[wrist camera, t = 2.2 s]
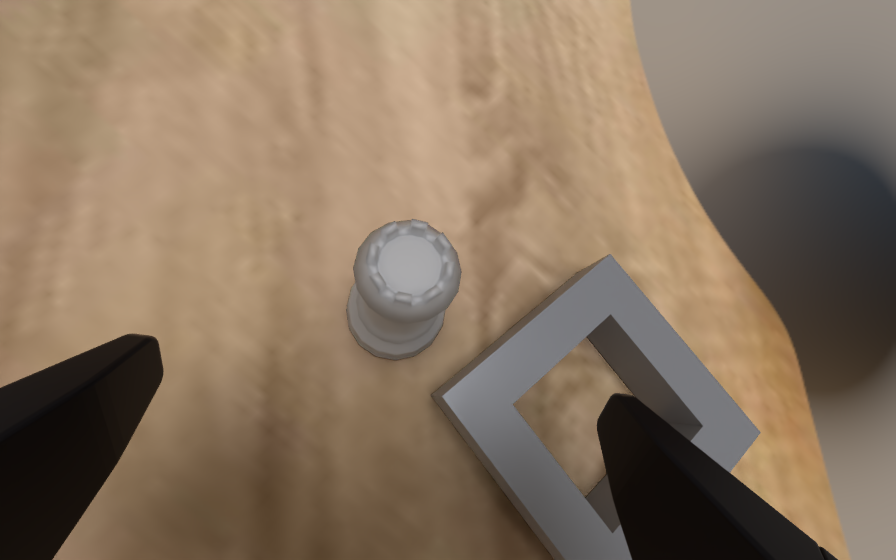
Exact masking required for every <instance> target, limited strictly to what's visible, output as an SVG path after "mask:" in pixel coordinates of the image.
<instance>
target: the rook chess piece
mask: <svg viewBox="0 0 896 560" xmlns="http://www.w3.org/2000/svg"><path fill="white" fill-rule="evenodd" d="M353 270H354V276H355V284H354V285H353V286H352V287H351V291H350V295H349V299H348V303H347V309H346V312H347V318H348V324H349V329H350V331H351V332H352V334H353V336H354V337H355V339H356V340H357V342H358V343H359V345H360V346H362V347H363V348H364V349H366V350H367V351H369V352H370V353H372V354H373V355H375V356H377V357H382V358H387V359H392V360H398V359H403V358H408V357H413V356H415V355H417V354H418V353H420V352H421V351H423V350H424V349H426V348H427V347H429V346H430V345H431V344H432V342H433V341H434V339H435V337H436V336H437V334H438V333H439V331H440V330H441V328H442V326H443V320H444V315H445V310H446V309H447V308H448V306H449V305H450V303H451V302H452V300H453V299H454V297H455V296H456V294H457V293H458V289H459V284H460V278H461V268H460V263H459V259H458V255H457V252H456V250H455V249H454V248H453V246H452V245H451V243H450V242H449V240H448V239H447V238H446V236H445V235H444V234H443V232H442V233H440V232H439V231H437V230H436V229H434V228H433V227H431V226H430V225H428V223H427V222H423V221H419V220H415V219H412V221H410V220H407V221H399V222H395V221H394V222H391V223H387V224H386V225H384V226H382V227H380V228H378V229H377V230H375V231H373V232H371V233H370V234H369V236H368V237H367V238H366V239H365V241H364V242H363V243H362V245H361V246H360V247H359V248H358V252H357V256H356V259H355V263H354V267H353Z"/></svg>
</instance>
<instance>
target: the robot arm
mask: <svg viewBox="0 0 896 560" xmlns="http://www.w3.org/2000/svg"><path fill="white" fill-rule="evenodd" d="M162 378H163V364H162V359H161V353H160V348H159V343H158V340H157V339H156V338H155V337H153V336H149V335H140V334H127V335H124V336H121V337H119V338H117V339H114V340H112V341H110V342H107V343H105V344H103V345H100V346H98V347H96V348H93V349H91V350H88V351H86V352H84V353H81V354H79V355H77V356H74V357H72V358H70V359H67V360H65V361H63V362H60V363H58V364H55V365H53V366H51V367H48V368H46V369H44V370H41V371H39V372H37V373H34V374H32V375H29V376H27V377H25V378H22V379H20V380H18V381H15V382H13V383H11V384H8V385H6V386H4V387H1V388H0V560H52V559H53V558H54V556H55V555H56V553H57V552H58V550H59V549H60V547H61V546H62V545H63V543H64V542H65V540H66V539H67V537H68V536H69V534H70V533H71V531H72V530H73V528H74V527H75V525H76V524H77V522H78V521H79V519H80V518H81V516H82V515H83V513H84V512H85V511H86V509H87V508H88V506H89V505H90V503H91V502H92V500H93V499H94V497H95V496H96V494H97V493H98V491H99V490H100V488H101V487H102V485H103V484H104V482H105V481H106V479H107V478H108V477H109V475H110V473H111V472H112V470H113V469H114V467H115V466H116V464H117V463H118V461H119V459H120V457H121V456H122V454H123V452H124V450H125V449H126V447H127V445H128V443H129V441H130V439H131V438H132V436H133V434H134V432H135V430H136V428H137V426H138V424H139V423H140V421H141V419H142V417H143V415H144V413H145V411H146V410H147V408H148V406H149V404H150V402H151V400H152V398H153V396H154V395H155V393H156V391H157V389H158V387H159V385H160V383H161V381H162ZM597 432H598V436H599V441H600V445H601V450H602V454H603V459H604V463H605V468H606V472H607V477H608V481H609V486H610V490H611V494H612V498H613V502H614V505H615V508H616V512H617V515H618V518H619V521H620V524H621V527H622V530H623V534H624V537H625V540H626V543H627V546H628V549H629V552H630V555H631V558H632V560H838V559H836V558H835V557H834V556H833V555H831V554H830V553H829V552H828V551H826V550H825V549H824V548H823V547H819V546H818V544H817V543H816V542H815V541H814V540H813V539H811V538H810V537H809V536H808V535H806V534H805V533H804V532H803V531H801V530H800V529H799V528H798V527H796V526H795V525H794V524H793V523H792V522H790V521H789V520H788V519H787V518H785V517H784V516H783V515H782V514H780V513H779V512H778V511H777V510H775V509H774V508H773V507H772V506H770V505H769V504H768V503H767V502H765V501H764V500H763V499H762V498H760V497H759V496H758V495H757V494H755V493H754V492H753V491H752V490H750V489H749V488H748V487H747V486H746V485H744V484H743V483H742V482H741V481H739V480H738V479H737V478H736V477H734V476H733V475H732V474H731V473H729V472H728V471H727V470H726V469H724V468H723V467H722V466H721V465H719V464H718V463H717V462H716V461H714V460H713V459H712V458H711V457H709V456H708V455H707V454H706V453H704V452H703V451H702V450H701V449H700V448H698V447H697V446H696V445H695V444H693V443H692V442H691V441H690V440H688V439H687V438H686V437H685V436H683V435H682V434H681V433H680V432H678V431H677V430H676V429H675V428H673V427H672V426H671V425H670V424H668V423H667V422H666V421H665V420H663V419H662V418H661V417H660V416H658V415H657V414H656V413H655V412H654V411H652V410H651V409H650V408H649V407H647V406H646V405H645V404H644V403H642V402H641V401H640V400H639V399H637V398H636V397H635V396H633V395H628V394H620V393H615V394H613V395H612V396H611V397H610V398H609V400H608V402H607V404H606V405H605V407H604V409H603V411H602V412H601V414H600V416H599V418H598V421H597Z"/></svg>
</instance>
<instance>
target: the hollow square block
mask: <svg viewBox="0 0 896 560" xmlns="http://www.w3.org/2000/svg"><path fill="white" fill-rule="evenodd" d="M586 336H587V338H588V339H589V340H590V341H591V342H592V344H593V345H594V346H595V347H596V349H597V350H598V351H599V352H600V353H601V355H602V356H603V357H604V358H605V360H606V361H607V362H608V363H609V365H610V366H611V367H612V368H613V369H614V371H615V372H616V373H617V374H618V376H619V377H620V378H621V379H622V381H623V382H624V383H625V384H626V385H627V387H628V388H629V389H630V390H631V392H632V393H633V394H634V395H635V396H636V398H637V399H639V400H640V401H641V402H642V403H644V404H645V405H646V406H647V407H649V408H650V409H651V410H652V411H654V412H655V413H656V414H657V415H658V416H660V417H661V418H662V419H663V420H665V421H666V422H667V423H668V424H670V425H671V426H672V427H673V428H675V429H676V430H677V431H678V432H680V433H681V434H682V435H683V436H685V437H686V438H687V439H688V440H690V441H691V442H692V443H693V444H695V445H696V446H697V447H698V448H700V449H701V450H702V451H703V452H704V453H706V454H707V455H708V456H709V457H711V458H712V459H713V460H714V461H716V462H717V463H718V464H719V465H721V466H722V467H723V468H724V469H726V470H727V471H728V472H729V473H730V472H731V470H732V469H733V468H734V467H735V465H736V464H737V463H738V461H739V460H740V459H741V457H742V456H743V455H744V454H745V452H746V451H747V450H748V448H749V447H750V446H751V445H752V443H753V442H754V441H755V439H756V438H757V437H758V435H759V434H760V433H761V432H760V431H759V430H758V429H757V428H756V426H755V425H754V424H753V423H752V422H751V420H750V419H749V418H748V417H747V416H746V415H745V413H744V412H743V411H742V410H741V409H740V407H739V406H738V405H737V404H736V403H735V401H734V400H733V399H732V398H731V397H730V396H729V394H728V393H727V392H726V391H725V390H724V388H723V387H722V386H721V385H720V384H719V382H718V381H717V380H716V379H715V378H714V377H713V375H712V374H711V373H710V372H709V371H708V369H707V368H706V367H705V366H704V365H703V363H702V362H701V361H700V360H699V359H698V358H697V356H696V355H695V354H694V353H693V352H692V350H691V349H690V348H689V347H688V346H687V344H686V343H685V342H684V341H683V340H682V339H681V337H680V336H679V335H678V334H677V333H676V331H675V330H674V329H673V328H672V327H671V325H670V324H669V323H668V322H667V321H666V320H665V318H664V317H663V316H662V315H661V314H660V312H659V311H658V310H657V309H656V308H655V307H654V305H653V304H652V303H651V302H650V301H649V299H648V298H647V297H646V296H645V295H644V293H643V292H642V291H641V290H640V289H639V288H638V286H637V285H636V284H635V283H634V282H633V280H632V279H631V278H630V277H629V276H628V274H627V273H626V272H625V271H624V270H623V269H622V267H621V266H620V265H619V264H618V263H617V261H616V260H615V259H614V258H613V257H612V255H611V254H609V255H607V256H605V257H604V258H602V259H600V260H598V261H597V262H595V263H593V264H591V265H590V266H588V267H586V268H584V269H582V270H581V271H579V272H577V273H576V274H575V275H574V276H573V277H571V278H570V279H569V280H568V281H567V282H565V283H564V284H563V285H562V286H561V287H559V288H558V289H557V290H556V291H555V292H553V293H552V294H551V295H550V296H549V297H548V298H546V299H545V300H544V301H543V302H542V303H540V304H539V305H538V306H537V307H536V308H534V309H533V310H532V311H531V312H530V313H528V314H527V315H526V316H525V317H524V318H522V319H521V320H520V321H519V322H518V323H516V324H515V325H514V326H513V327H512V328H510V329H509V330H508V331H507V332H506V333H505V334H503V335H502V336H501V337H500V338H499V339H497V340H496V341H495V342H494V343H493V344H491V345H490V346H489V347H488V348H487V349H485V350H484V351H483V352H482V353H481V354H479V355H478V356H477V357H476V358H475V359H473V360H472V361H471V362H470V363H469V364H467V365H466V366H465V367H464V368H463V369H461V370H460V371H459V372H458V373H457V374H456V375H454V376H453V377H452V378H451V379H450V380H448V381H447V382H446V383H445V384H444V385H442V386H441V387H440V388H439V389H438V390H436V391H435V392H434V393H433V394H432V395H431V396H432V397H433V399H434V400H435V401H436V403H437V404H438V405H439V407H440V408H441V409H442V411H443V412H444V413H445V415H446V416H447V417H448V419H449V420H450V421H451V423H452V424H453V425H454V427H455V428H456V429H457V431H458V432H459V433H460V435H461V436H462V437H463V439H464V440H465V441H466V443H467V444H468V445H469V447H470V448H471V449H472V451H473V452H474V453H475V455H476V456H477V457H478V459H479V460H480V461H481V463H482V464H483V465H484V466H485V468H486V469H487V470H488V472H489V473H490V474H491V476H492V477H493V478H494V480H495V481H496V482H497V484H498V485H499V486H500V488H501V489H502V490H503V492H504V493H505V494H506V496H507V497H508V498H509V500H510V501H511V502H512V504H513V505H514V506H515V508H516V509H517V510H518V512H519V513H520V514H521V516H522V517H523V518H524V520H525V521H526V522H527V524H528V525H529V526H530V528H531V529H532V530H533V532H534V533H535V534H536V536H537V537H538V538H539V540H540V541H541V542H542V544H543V545H544V546H545V548H546V549H547V550H548V552H549V553H550V554H551V556H552V557H553V558H554V560H632V558H631V555H630V552H629V549H628V546H627V543H626V540H625V537H624V534H623V530H622V527H621V524H620V521H619V518H618V515H617V512H616V508H615V505H614V502H613V498H612V494H611V490H610V486H609V481H608V477H607V474H606V476H605V477H604V478H603V479H602V480H601V481H600V482H599V483H598V484H597V485H596V487H595V488H594V489H593V490H592V491H591V492H590V493H589V494H588V495H587V497H586V498H585V497H584V496H583V495H582V493H581V492H580V491H579V490H578V488H577V487H576V486H575V484H574V483H573V482H572V481H571V479H570V478H569V477H568V475H567V474H566V473H565V471H564V470H563V469H562V468H561V466H560V465H559V464H558V462H557V461H556V460H555V459H554V457H553V456H552V455H551V453H550V452H549V451H548V450H547V448H546V447H545V446H544V444H543V443H542V442H541V441H540V439H539V438H538V437H537V435H536V434H535V433H534V431H533V430H532V429H531V428H530V426H529V425H528V424H527V422H526V421H525V420H524V419H523V417H522V416H521V415H520V413H519V412H518V411H517V410H516V408H515V407H514V406H513V404H514V403H515V402H516V401H517V400H518V399H519V398H520V397H521V396H522V395H523V394H524V393H525V392H527V391H528V390H529V389H530V388H531V387H532V386H533V385H534V384H535V383H536V382H537V381H539V380H540V379H541V378H542V377H543V376H544V375H545V374H546V373H547V372H548V371H549V370H550V369H552V368H553V367H554V366H555V365H556V364H557V363H558V362H559V361H560V360H561V359H562V358H563V357H565V356H566V355H567V354H568V353H569V352H570V351H571V350H572V349H573V348H574V347H575V346H577V345H578V344H579V343H580V342H581V341H582V340H583V339H584V338H585V337H586Z"/></svg>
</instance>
